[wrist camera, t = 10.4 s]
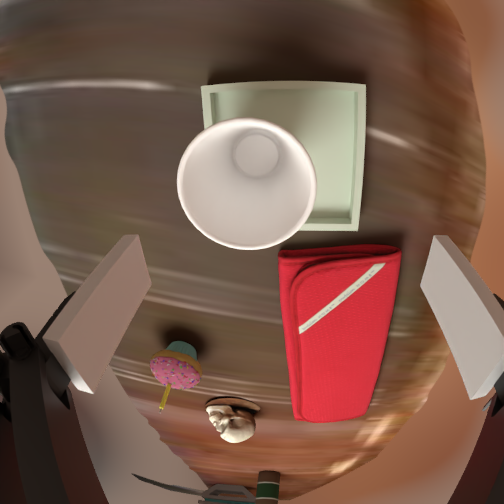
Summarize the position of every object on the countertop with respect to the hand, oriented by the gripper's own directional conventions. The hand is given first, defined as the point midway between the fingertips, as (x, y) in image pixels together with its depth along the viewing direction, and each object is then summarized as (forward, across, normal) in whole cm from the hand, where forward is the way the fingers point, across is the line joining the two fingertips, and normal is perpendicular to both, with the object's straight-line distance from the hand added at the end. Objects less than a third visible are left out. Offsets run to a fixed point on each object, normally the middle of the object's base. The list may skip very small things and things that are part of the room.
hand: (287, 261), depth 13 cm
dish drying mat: (+21, +8, -31) cm, 39 cm away
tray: (+21, 0, 0) cm, 21 cm away
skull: (+21, -10, -51) cm, 56 cm away
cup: (+20, -3, 0) cm, 20 cm away
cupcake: (+21, -17, -31) cm, 41 cm away
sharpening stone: (+20, -19, -129) cm, 132 cm away
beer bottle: (+21, -3, -100) cm, 102 cm away
